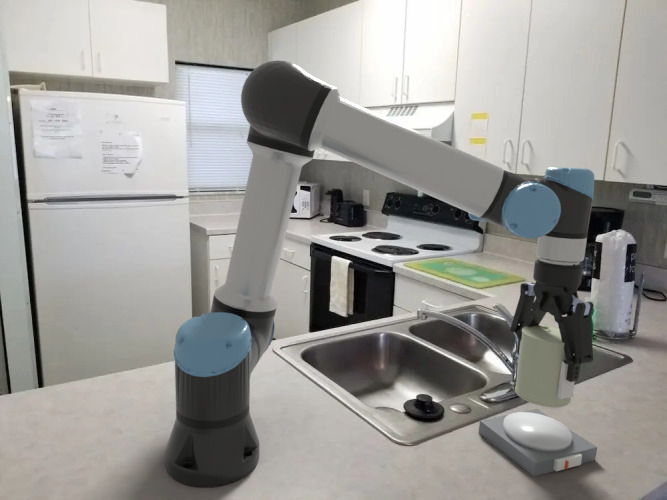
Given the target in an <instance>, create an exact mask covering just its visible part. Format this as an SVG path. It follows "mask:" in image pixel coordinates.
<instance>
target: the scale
mask: <svg viewBox="0 0 667 500" xmlns="http://www.w3.org/2000/svg"><path fill="white" fill-rule="evenodd" d="M478 434H480V435H481V436H482V437H483V438H485V439H486V440H487V441H488V442H489V443H491V444H492V445H493V446H494V447H496V448H497V449H498V450H499V451H501V452H502V453H503V454H504V455H506V456H507V457H508V458H510V459H511V460H512V461H513V462H515V463H516V464H517V465H518V466H520V467H521V468H522V469H523V470H525V471H526V472H527V473H528V474H529V475H531V476H532V477H538V476H541V475H544V474H545V475H546V474H549V473H552V472H559V471H563V470H568V469H570V468H574V467H577V466H581V465H583V464H585V463H586V464H587V463H590V462H593V461H596V459H597V458H596V457H597V451H598V446H596V445H595V444H593V443H592V442H590V441H588V440H587V439H586V438H584V437H583V436H581V435H579V434H578V433H576V432H575V431H573V430H571V429H570V428H569V427H568V426H566V425H565V424H563V423H562V422H560V421H558V420H557V419H554V418H553V417H551V416H550V415H548V414H546V413H544V412H543V411H541V410H539V409H538V408H535V409H529V410H524V411H519V412H518V411H517V412H513V413H510V414H505V415H501V416H496V417H490V418H485V419H481V420H479V425H478Z"/></svg>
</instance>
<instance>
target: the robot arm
mask: <svg viewBox="0 0 667 500" xmlns="http://www.w3.org/2000/svg"><path fill="white" fill-rule="evenodd" d="M240 103H241V109H242V112H243V115H244V117H245V120H246V121H247V123H248V124H249V128H248V134H247V138H246V144H247V145H248V147H249V149H250V151H251V152H252V159H251V163H250V166H249V167H250V168H249V173H248V177H247V181H246V186H245V190H244V195H243V200H242V204H241V205H242V206H241V210H240V212H239V213H240V214H239V218H238V223H237V226H236V227H237V228H236V232H235V237H234V241H233V246H232V251H231V256H230V260H229V265H228V269H227V274H226V277H225V278H226V279H225V282H224V284H222V285H221V286H219V287H217V288H216V289H215V290H214V294H213V298H212V303H211V307H210V311H209V312H208V313H203V314H200V316H194V317H191V318H190V319H188V320H186V321H185V322H183V323H182V325H180V327H179V328H178V329H177V332H176V334H175V339H174V348H173V357H174V376H175V377H174V378H175V379H174V380H175V381H174V383H175V417H176V418H175V421H174V423H173V427H172V430H171V432H170V435H169V439H168V441H167V444H166V448H165V452H164V453H165V469H166V471H167V473H168V474H169V475H170V477H172V478H173V479H174V480H176V481H177V482H179V483H181V484H184V485H189V486H191V487H192V486H194V487H201V488H202V487H203V488H205V487H207V488H208V487H211V488H212V487H219V486H223V485H228V484H231V483H233V482H236V481H238V480H241V479H242V478H244V477H246V476H247V475H248V474H250V473H251V472H252V471H253V470H254V469H255V467H256V466H257V465H258V463H259V459H260V448H261V446H260V439H259V436H258V433H257V431H256V427H255V425H254V423H253V419H252V417H251V413H250V396H251V391H250V390H251V389H250V388H251V386H250V383H251V375H252V373H253V371H254V370H255V368H256V366H257V365H258V363H259V361H260V360H261V358H262V357H263V355H264V354H265V353H266V352H267V350H268V348H269V347H270V346H271V344H272V341H273V339H274V335H275V328H276V327H275V325H276V324H275V317H276V311H277V308H278V302H277V299H276V298H275V296H274V295H273V289H274V285H275V281H276V277H277V272H278V268H279V264H280V259H281V256H282V251H283V247H284V243H285V238H286V235H287V229H288V226H289V222H290V218H291V214H292V210H293V207H294V206H293V204H294V201H295V197H296V192H297V189H298V188H297V187H298V184H299V180H300V176H301V172H302V167H303V166H305V165H306V164H307V163H309V162H311V161H312V160H313V159H314V156H315V155H314V154H315V151H316V150H318V149H323V150H325V151H327V152H330V153H332V154H334V155H336V156H339V157H341V158H343V159H346V160H348V161H350V162H352V163H355V164H357V165H359V166H362V167H363V168H366V169H368V170H371V171H372V172H375V173H378V174H380V175H382V176H384V177H386V178H389V179H392V180H394V181H396V182H398V183H400V184H403V185H405V186H407V187H410V188H412V189H413V190H417V191H419V192H421V193H423V194H425V195H427V196H429V197H432V198H435V199H437V200H439V201H442V202H444V203H446V204H448V205H450V206H452V207H455V208H458V209H460V210H462V211H465V212H467V213H468V217H469V218H470V220H472V221H477V222H484V223H490V224H494V225H495V226H497V227H500V228H503V229H504V230H507V231H508V232H509V233H511V235H514V236H517V237H519V238H523V239H537V242H536V250H535V256H536V257H538V258H536V259H535V261H534V266H533V275H532V276H533V277H532V279H533V280H534V281H535V282H524V283H520V291H519V292H520V294H519V295H520V296H519V299H518V301H517V302H518V303H517V305H516V308H515V312H514V316H513V318H512V322H511V324H510V331H511V333H515V335H516V337H517V339H518V341H517V349H516V353H517V355H518V358H517V359H518V360H517V367H516V374H517V375H518V367H519V358H520V350H521V340H522V329H523V327H525V326H527V327H533V326H538V325H541V322H542V321H543V319H544V317H545V316H546V314H547V313H549V314H550V315H551V316H553V318H554V321H555V323H557V325H558V326H557V327H559V330H560V334H561V339H562V342H563V343H565V345H564V351H565V355H566V360H564V361H562V364H561V372H560V379H559V387H558V394H557V397H558V398H560V399H564V398H569V397H570V398H572V397H573V396H574V388H575V382H578V380H579V379H580V378H579V377H580V371H581V365H583V364H584V365H585V364H590V363H592V362H593V361H594V353H593V351H594V350H593V348H594V347H593V329H592V315H593V312H594V311H593V310H594V303H593V302H592V301H584V300H582V299H580V298H579V296H578V295H579V294H578V289H579V287H580V286H581V285H582V278H583V272H584V265H583V263H582V262H583V261H584V260H585V254H586V248H587V240H588V233H589V232H588V231H589V224H590V219H591V213H592V207H593V200H594V198H595V196H594V193H595V174H594V172H593V171H592V169H590V168H582V167H581V168H579V167H563V166H562V167H559V166H558V167H555V166H551V167H547V168H546V170H545V172H544V175H543V177H541V178H540V177H539V178H527V177H526V178H525V177H523V176H519V175H518V174H515V173H513V172H510V171H508V170H505V169H503V168H502V167H500V166H497V165H495V164H492V163H491V162H488V161H486V160H483V159H482V158H479V157H477V156H475V155H472V154H469V153H467V152H466V151H463V150H461V149H458V148H456V147H455V146H451V145H450V144H447V143H445V142H442V141H440V140H438V139H436V138H434V137H431V136H429V135H426V134H424V133H422V132H420V131H417V130H415V129H413V128H411V127H408V126H406V125H403V124H402V123H399V122H397V121H396V120H392V119H390V118H388V117H385V116H383V115H381V114H379V113H377V112H374V111H372V110H369V109H367V108H365V107H362V106H360V105H358V104H355V103H353V102H352V101H349V100H347V99H344V98H342V97H341V94H340V93H339V90H338V88H337V87H336V86H333V85H331V84H329V83H326V82H324V81H322V80H320V79H318V78H316V77H315V76H313V75H311V74H310V73H308V72H307V71H305V70H304V69H303V68H301V67H300V66H299V65H297V64H295V63H293V62H290V61H285V60H271V61H267V62H264V63H262V64H260V65H259V66H257V67H255V68H254V69H253V70H252V71H251V72H250V73H249V74H248V76H247V77H246V79H245V81H244V83H243V85H242V90H241V94H240ZM573 354H574V355H573Z"/></svg>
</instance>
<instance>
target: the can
mask: <svg viewBox="0 0 667 500" xmlns="http://www.w3.org/2000/svg"><path fill="white" fill-rule="evenodd" d="M564 345H565V343H563V342H562V339H561V334H560V330H559V326H555V325H548V324H547V325H546V324H539V325H538V326H533V327H527V326H525V327H523V329H522V340H521V350H520V358H519V367H518V374H517V376H516V382H515V383H516V384H515V387H514V392H515V394H517V396H518V397H519V398H521V399H522V400H524V401H526V402H527V403H530V404H533V405H536V406H539V407H540V406H541V407H545V408H563V407H566V406H567V405H569V404H570V403H571V398H572V397H569V398H564V399H560V398H558V397H557V394H558V387H559V379H560V372H561V364H562V361H564V360H566V355H565V351H564ZM573 355H574V354H573Z"/></svg>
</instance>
